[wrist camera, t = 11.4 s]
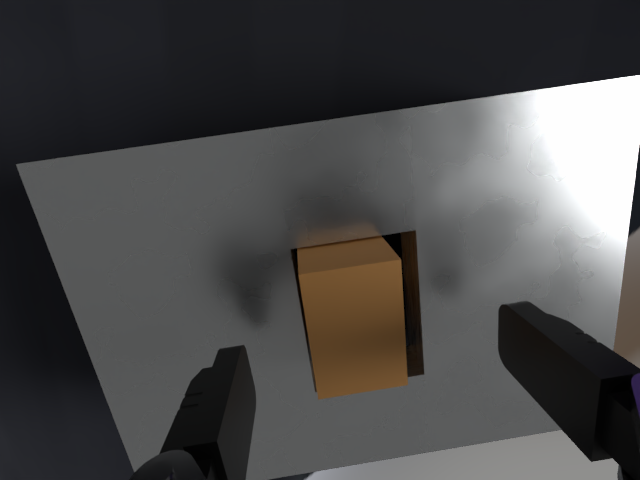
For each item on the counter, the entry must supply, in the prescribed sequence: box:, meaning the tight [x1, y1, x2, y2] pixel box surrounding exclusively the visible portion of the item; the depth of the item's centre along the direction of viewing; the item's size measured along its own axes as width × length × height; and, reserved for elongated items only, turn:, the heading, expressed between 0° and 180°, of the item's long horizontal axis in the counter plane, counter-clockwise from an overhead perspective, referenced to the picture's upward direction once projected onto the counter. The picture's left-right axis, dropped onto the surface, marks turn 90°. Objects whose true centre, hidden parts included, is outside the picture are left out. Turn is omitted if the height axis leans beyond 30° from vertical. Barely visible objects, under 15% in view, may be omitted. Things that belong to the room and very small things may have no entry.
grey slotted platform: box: [16, 75, 640, 480], centre depth 17 cm, size 20×14×8 cm
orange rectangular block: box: [297, 235, 408, 400], centre depth 15 cm, size 3×4×10 cm, turn 7°
